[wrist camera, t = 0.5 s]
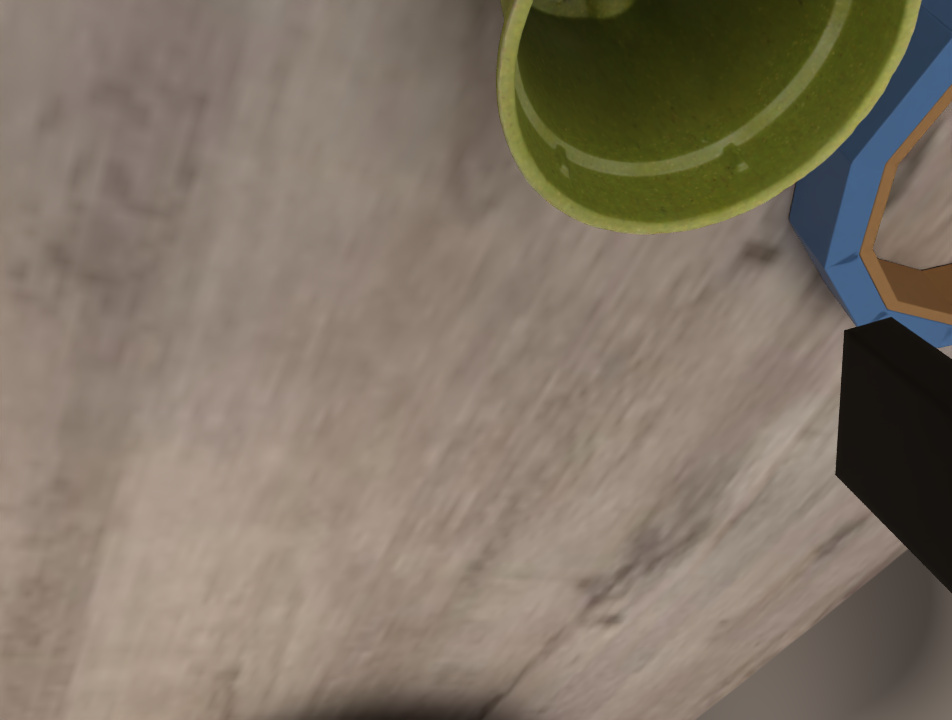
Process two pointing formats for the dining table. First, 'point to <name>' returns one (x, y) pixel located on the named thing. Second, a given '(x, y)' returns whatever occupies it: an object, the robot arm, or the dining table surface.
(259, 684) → the dining table surface
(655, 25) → the plant pot
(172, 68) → the dining table surface
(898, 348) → the robot arm
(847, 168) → the tape roll
